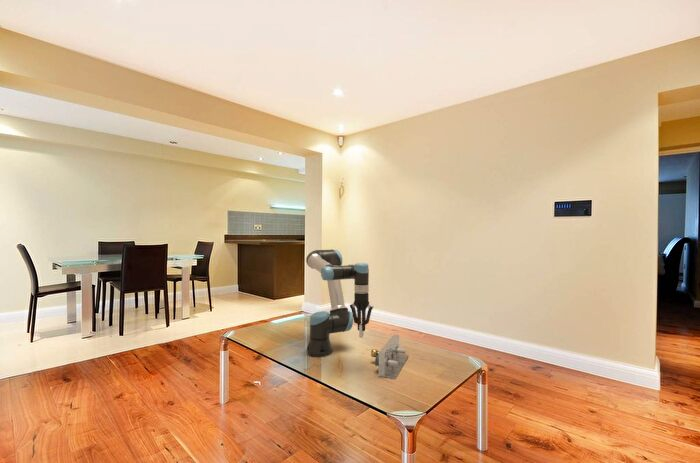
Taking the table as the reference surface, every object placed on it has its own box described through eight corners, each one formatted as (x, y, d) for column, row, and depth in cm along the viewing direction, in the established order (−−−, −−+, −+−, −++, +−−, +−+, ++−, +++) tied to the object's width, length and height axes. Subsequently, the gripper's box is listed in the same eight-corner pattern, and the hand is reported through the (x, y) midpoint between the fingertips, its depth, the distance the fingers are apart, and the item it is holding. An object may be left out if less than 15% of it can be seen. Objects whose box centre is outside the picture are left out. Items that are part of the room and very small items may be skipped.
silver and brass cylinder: (370, 357, 172) (370, 350, 172) (372, 355, 176) (372, 348, 176) (389, 360, 168) (389, 353, 168) (391, 358, 172) (391, 350, 172)
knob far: (385, 354, 178) (385, 345, 178) (387, 351, 183) (387, 343, 183) (404, 357, 174) (404, 348, 174) (406, 354, 178) (406, 345, 178)
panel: (378, 376, 157) (378, 352, 157) (394, 354, 185) (394, 334, 185) (395, 379, 154) (395, 354, 154) (408, 356, 181) (408, 336, 181)
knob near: (375, 367, 161) (375, 357, 161) (378, 363, 166) (378, 354, 166) (396, 370, 157) (396, 360, 157) (398, 366, 162) (398, 357, 162)
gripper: (347, 292, 166) (347, 337, 166) (370, 294, 161) (370, 340, 161) (352, 290, 173) (352, 333, 173) (375, 292, 168) (375, 336, 168)
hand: (361, 336), depth 167 cm, fingers closed
